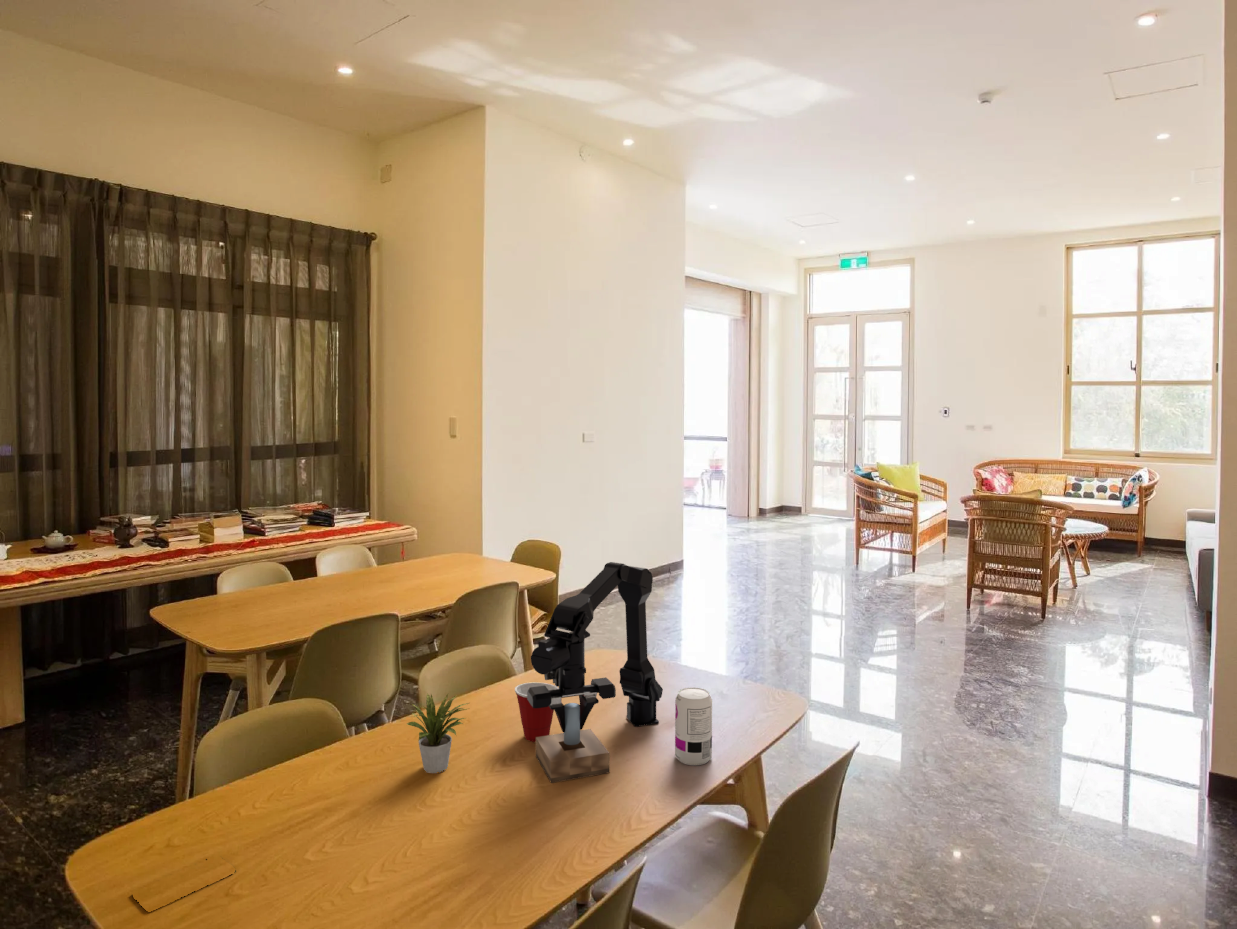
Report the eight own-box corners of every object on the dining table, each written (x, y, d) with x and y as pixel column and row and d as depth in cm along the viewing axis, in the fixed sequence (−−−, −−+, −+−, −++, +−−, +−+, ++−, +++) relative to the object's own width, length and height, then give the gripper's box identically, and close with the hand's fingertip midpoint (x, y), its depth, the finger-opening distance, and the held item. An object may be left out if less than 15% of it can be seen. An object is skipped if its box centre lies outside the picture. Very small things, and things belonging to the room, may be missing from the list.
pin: (582, 743, 170) (582, 707, 169) (566, 746, 169) (566, 710, 168) (577, 736, 173) (577, 701, 173) (561, 739, 172) (561, 704, 171)
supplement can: (669, 761, 173) (669, 696, 171) (683, 747, 180) (684, 684, 179) (703, 769, 169) (704, 702, 168) (716, 754, 176) (717, 690, 175)
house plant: (452, 789, 160) (450, 712, 159) (390, 782, 163) (388, 707, 162) (478, 758, 174) (477, 687, 173) (420, 752, 177) (419, 683, 175)
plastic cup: (569, 738, 185) (569, 689, 184) (530, 750, 178) (530, 699, 177) (544, 723, 193) (544, 676, 192) (506, 734, 186) (505, 686, 185)
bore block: (590, 747, 180) (590, 728, 179) (609, 772, 167) (609, 752, 167) (535, 756, 175) (535, 737, 175) (551, 782, 163) (551, 762, 163)
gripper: (600, 645, 180) (600, 710, 181) (521, 654, 174) (521, 722, 175) (616, 660, 170) (616, 729, 171) (533, 670, 163) (533, 742, 165)
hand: (571, 730), depth 171 cm, fingers closed on pin, 4 cm apart
